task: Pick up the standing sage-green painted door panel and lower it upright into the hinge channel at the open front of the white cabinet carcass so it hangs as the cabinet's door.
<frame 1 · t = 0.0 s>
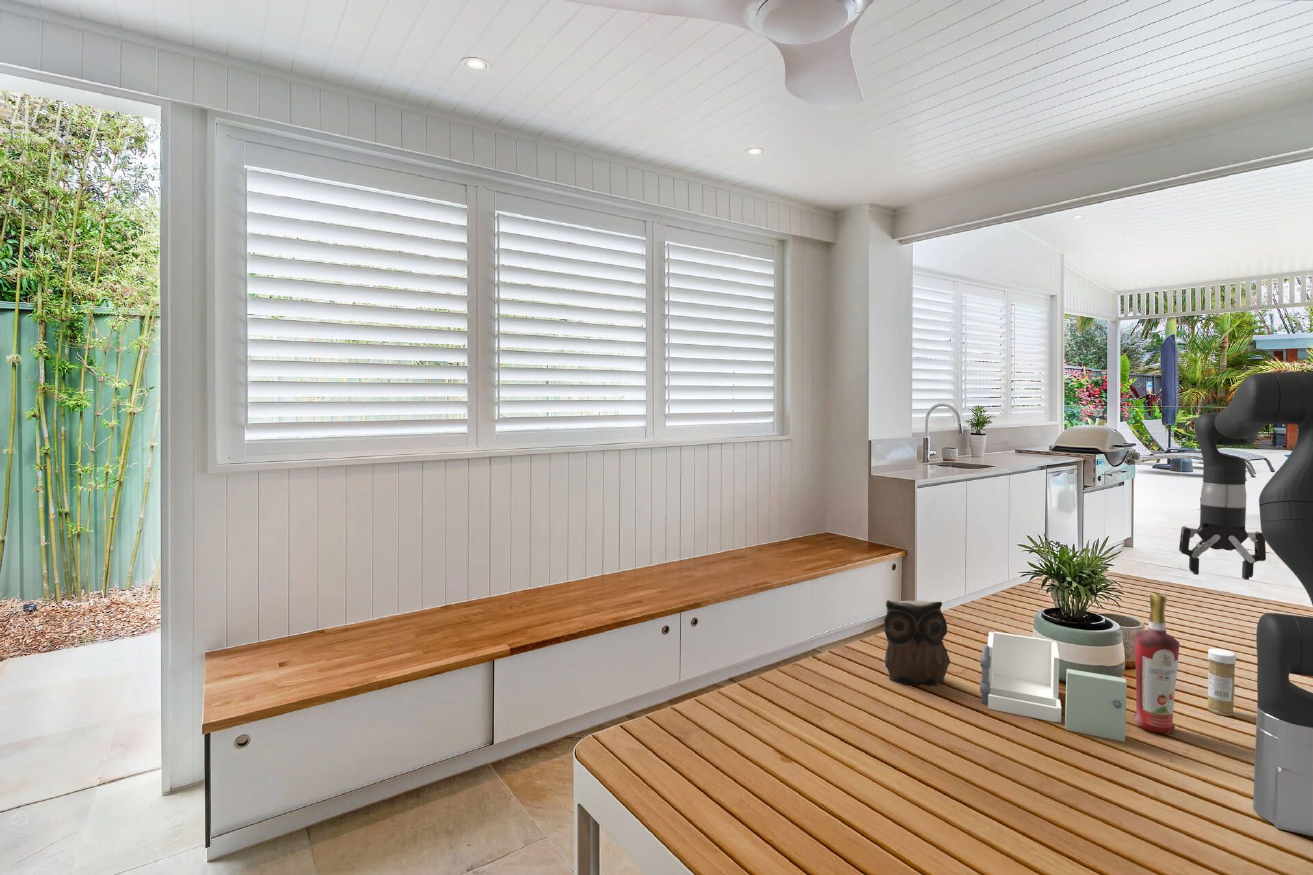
hand: (1220, 576, 143), 29 cm above the table, fingers open, 8 cm apart
door: (1094, 732, 132), on the table
sprinkles bottle: (1219, 712, 141), on the table
owl: (914, 677, 160), on the table
cabinet: (1021, 701, 147), on the table
liquor: (1153, 729, 134), on the table
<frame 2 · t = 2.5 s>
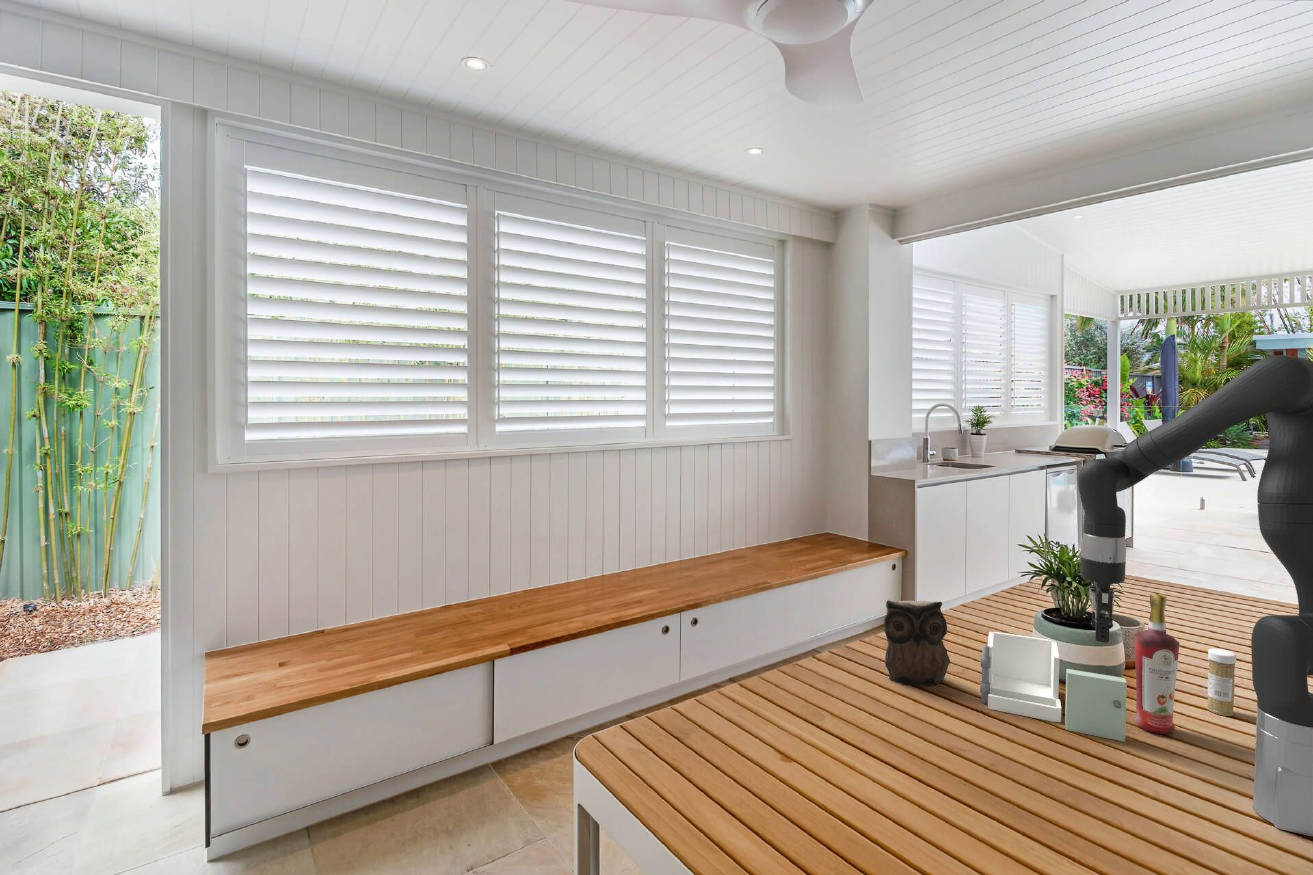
hand: (1099, 634, 132), 20 cm above the table, fingers open, 8 cm apart
nothing on the table moved.
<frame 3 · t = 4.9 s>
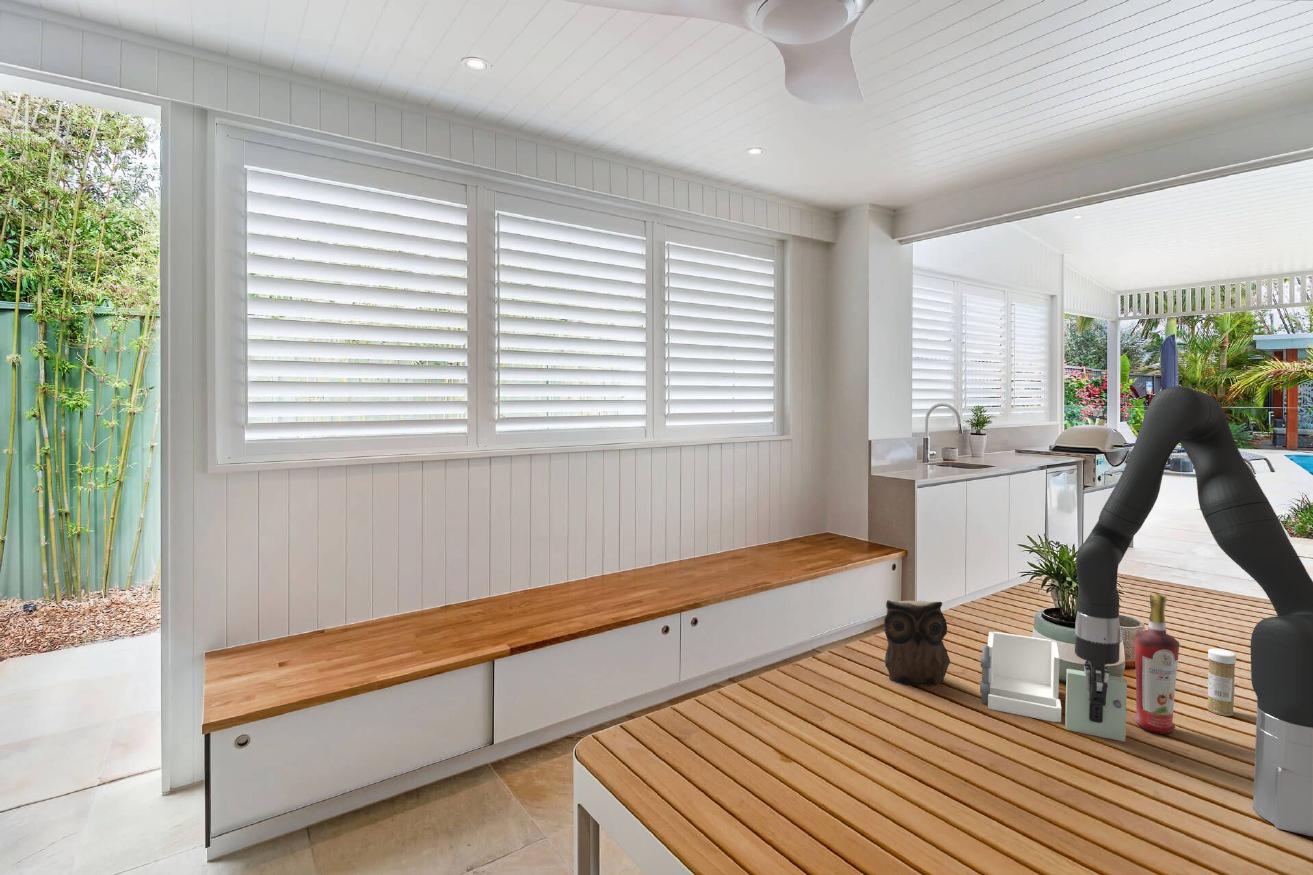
hand: (1094, 717, 132), 3 cm above the table, fingers closed on door, 2 cm apart
door: (1094, 732, 132), on the table, touching gripper
everything else where it was.
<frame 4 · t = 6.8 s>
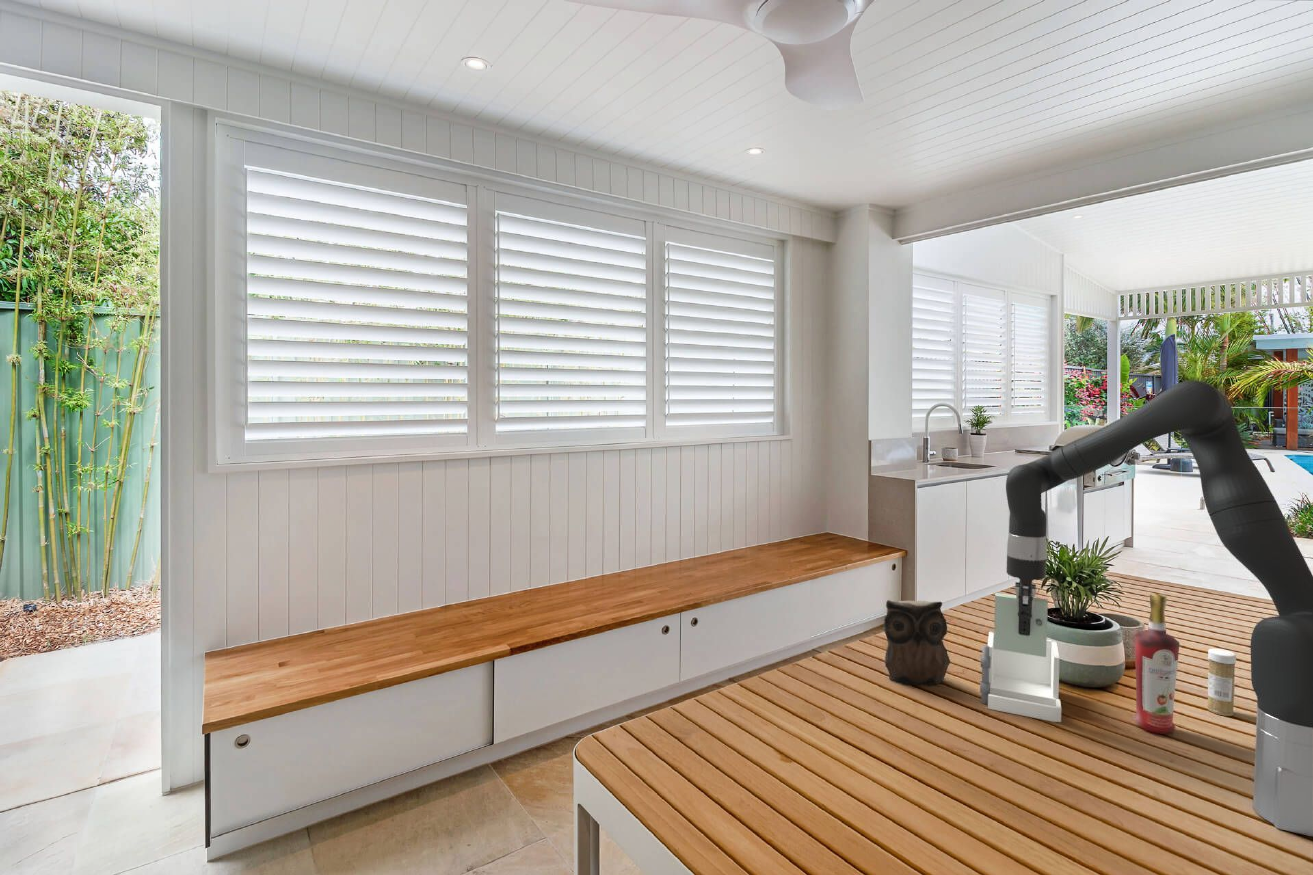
hand: (1024, 632, 142), 17 cm above the table, fingers closed on door, 2 cm apart
door: (1019, 650, 142), point 13 cm above the table, touching gripper
everything else where it was.
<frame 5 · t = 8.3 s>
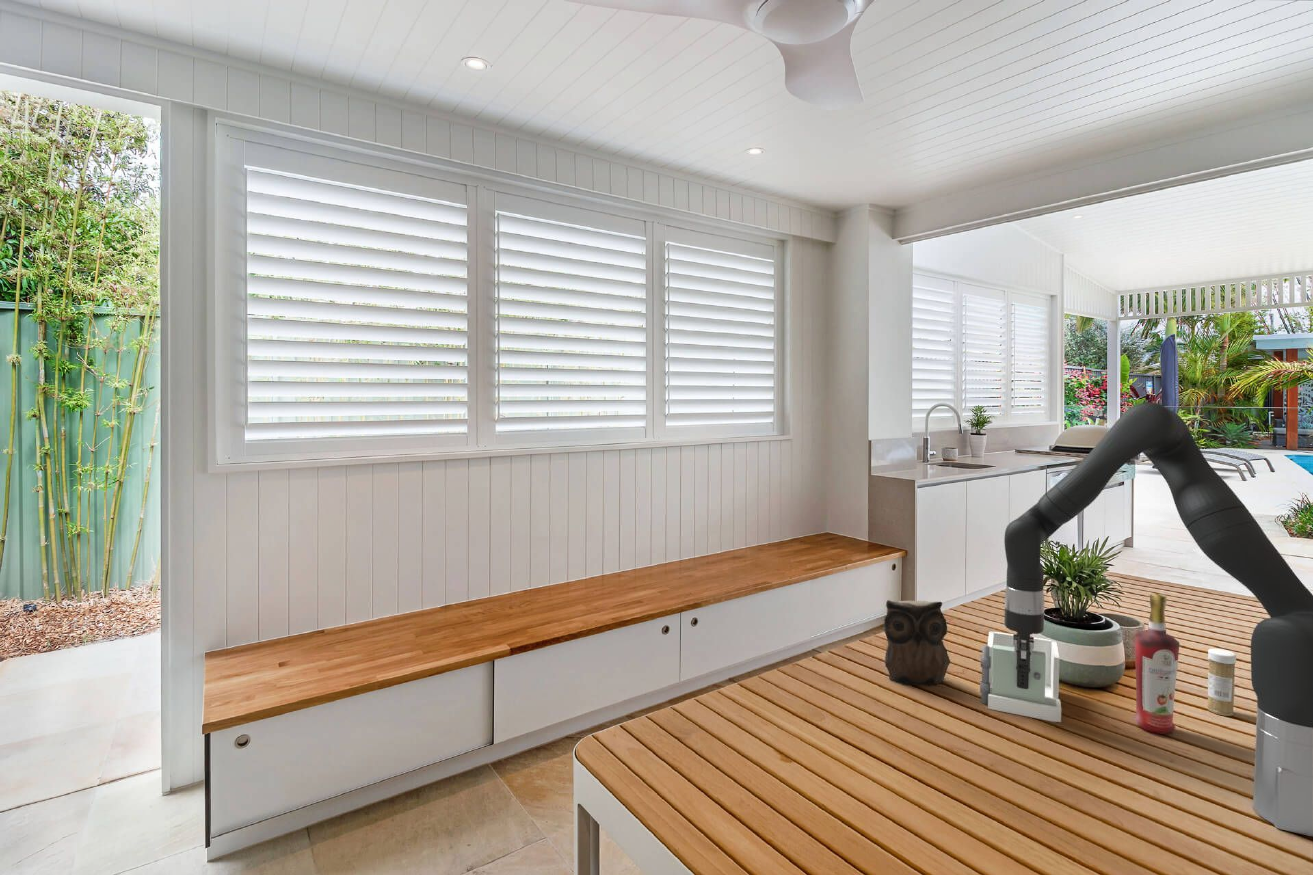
hand: (1022, 684, 142), 6 cm above the table, fingers closed on door, 2 cm apart
door: (1017, 703, 143), point 1 cm above the table, touching gripper
everything else where it was.
when the fingers open (4 cm above the table, at t = 8.8 s): door stays where it is, resting in cabinet.
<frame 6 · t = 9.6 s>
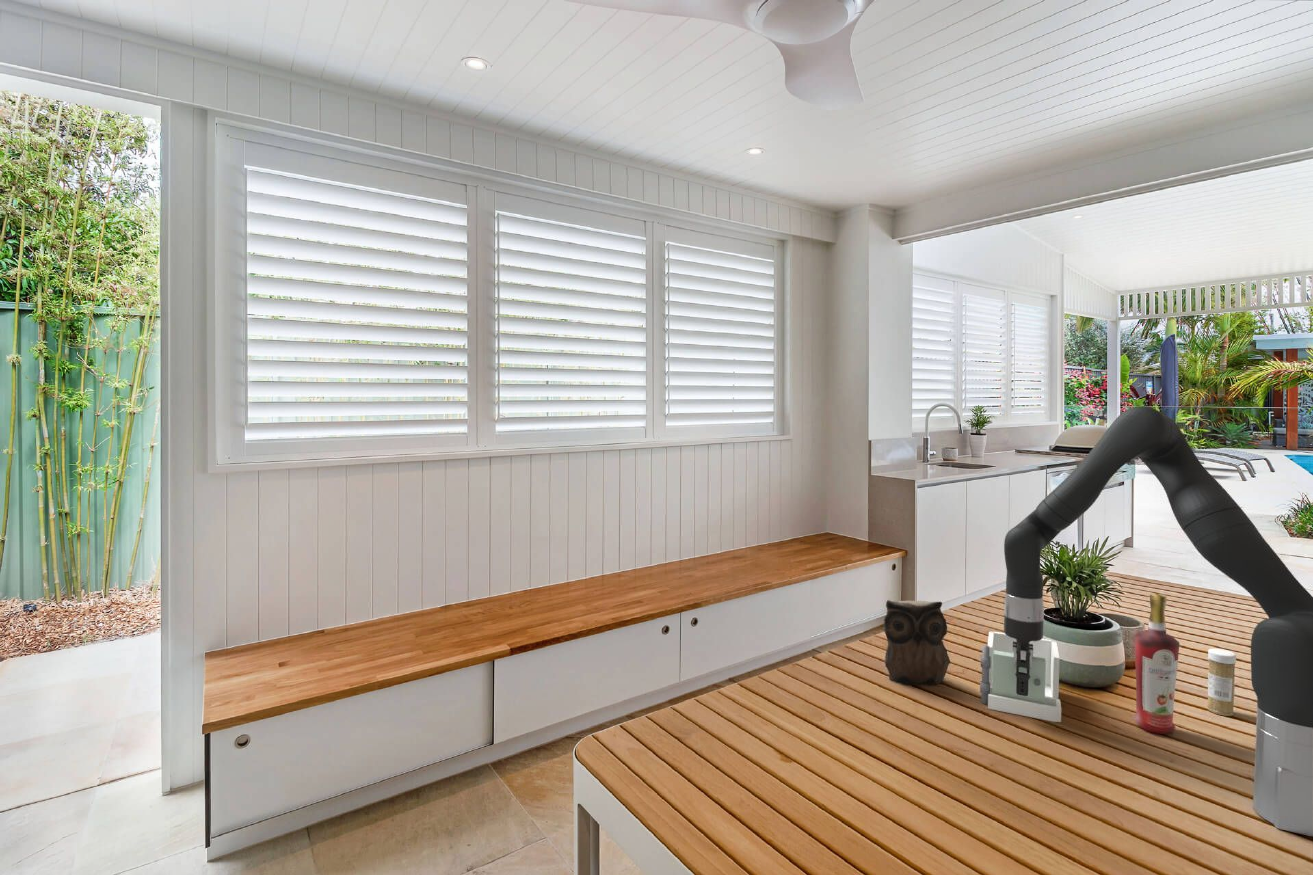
hand: (1021, 687, 142), 5 cm above the table, fingers open, 8 cm apart
door: (1017, 709, 143), resting in cabinet
everything else where it was.
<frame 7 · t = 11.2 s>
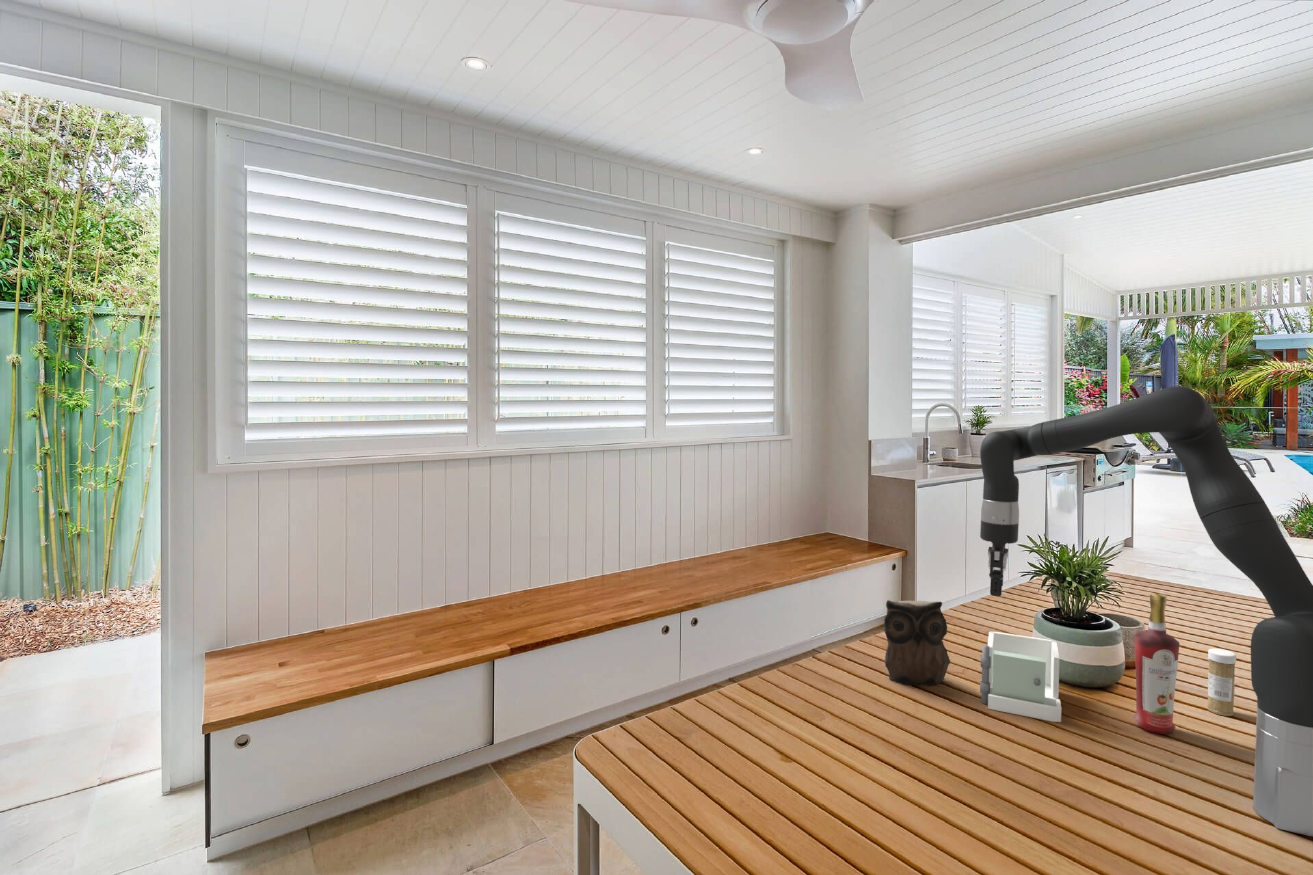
hand: (996, 590, 146), 25 cm above the table, fingers open, 8 cm apart
nothing on the table moved.
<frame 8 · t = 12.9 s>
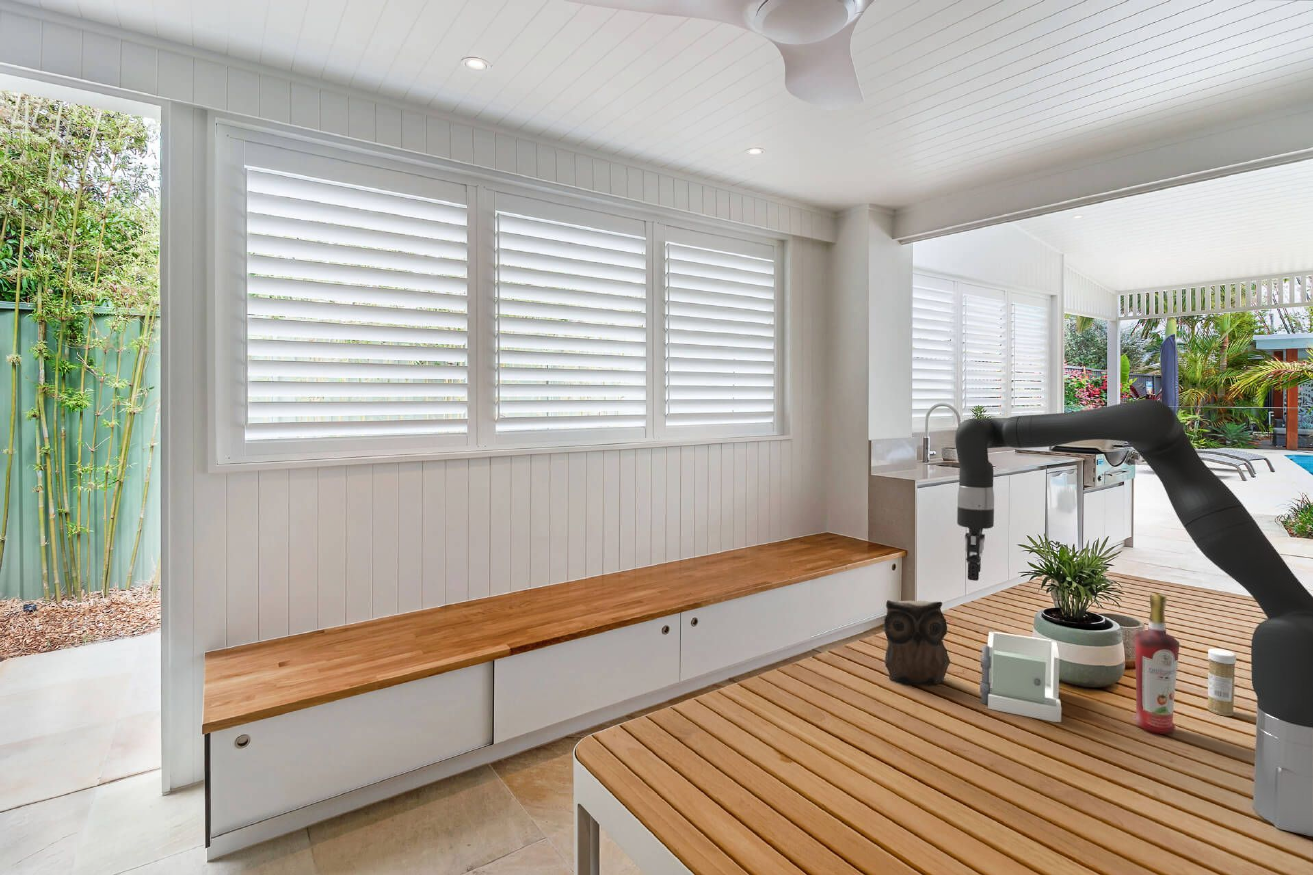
hand: (974, 575, 148), 28 cm above the table, fingers open, 8 cm apart
nothing on the table moved.
at the end: door 0.7 cm from the target spot on the cabinet, point 0.0 cm above the cabinet's base; door tilted 0°; the gripper is holding nothing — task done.
